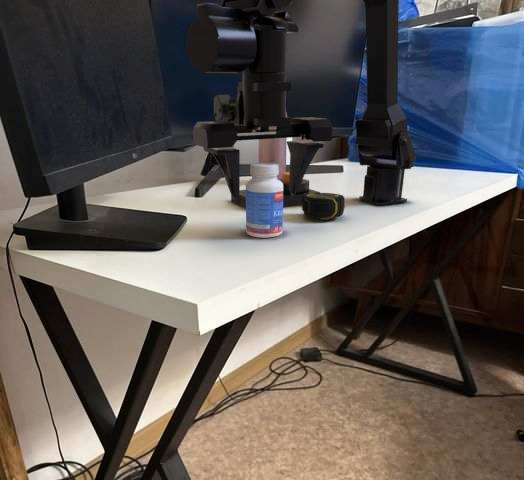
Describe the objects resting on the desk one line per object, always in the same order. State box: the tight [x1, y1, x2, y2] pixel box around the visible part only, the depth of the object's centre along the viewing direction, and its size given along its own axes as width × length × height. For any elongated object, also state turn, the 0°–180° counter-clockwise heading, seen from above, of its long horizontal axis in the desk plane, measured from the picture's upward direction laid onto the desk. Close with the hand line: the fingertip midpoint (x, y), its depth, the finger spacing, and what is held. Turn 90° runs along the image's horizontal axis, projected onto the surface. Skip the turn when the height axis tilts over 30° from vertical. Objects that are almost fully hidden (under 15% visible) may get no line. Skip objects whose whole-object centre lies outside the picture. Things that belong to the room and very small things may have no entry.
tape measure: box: [300, 192, 346, 221], centre depth 83 cm, size 7×7×4 cm
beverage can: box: [258, 112, 288, 179], centre depth 110 cm, size 6×6×15 cm
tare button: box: [282, 171, 290, 183], centre depth 95 cm, size 4×4×2 cm
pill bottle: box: [245, 162, 284, 239], centre depth 73 cm, size 6×5×10 cm
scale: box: [230, 178, 321, 209], centre depth 94 cm, size 14×9×4 cm, turn 117°
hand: (264, 197), depth 73 cm, fingers open, 9 cm apart
